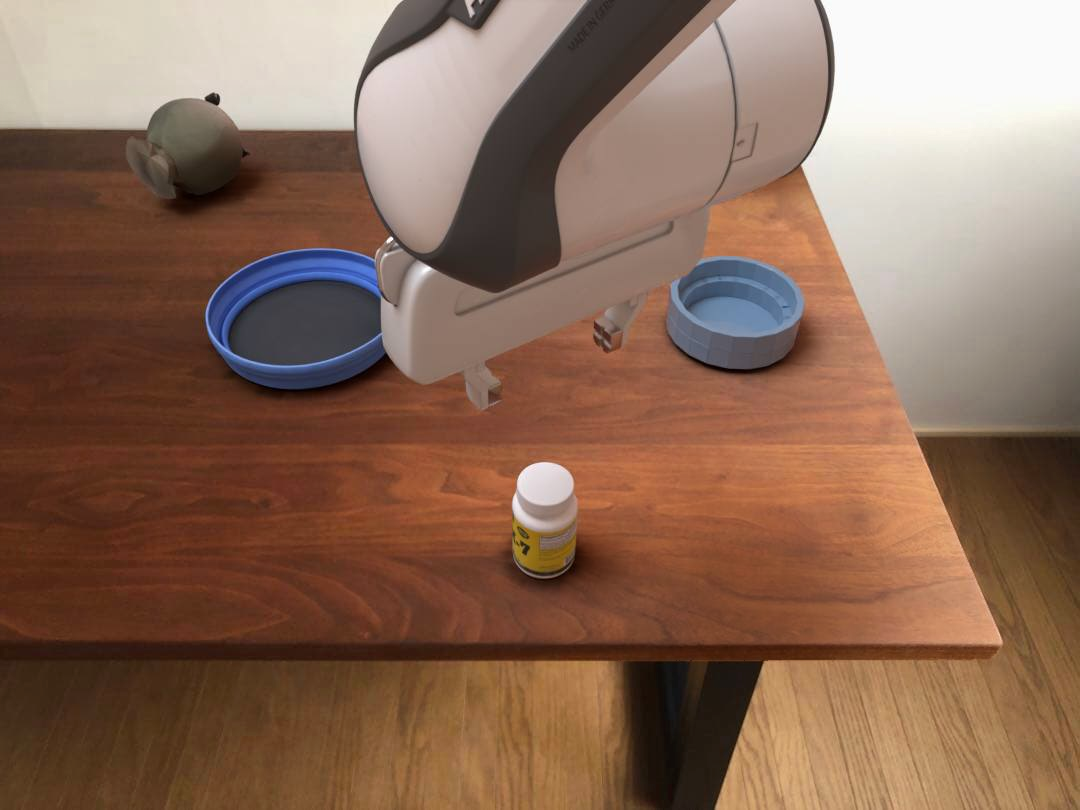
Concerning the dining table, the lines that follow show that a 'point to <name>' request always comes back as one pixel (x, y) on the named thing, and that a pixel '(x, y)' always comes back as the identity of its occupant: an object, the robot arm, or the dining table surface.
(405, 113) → the robot arm
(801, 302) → the blue bowl
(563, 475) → the supplement bottle
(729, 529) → the dining table surface
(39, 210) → the dining table surface
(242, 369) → the bowl
